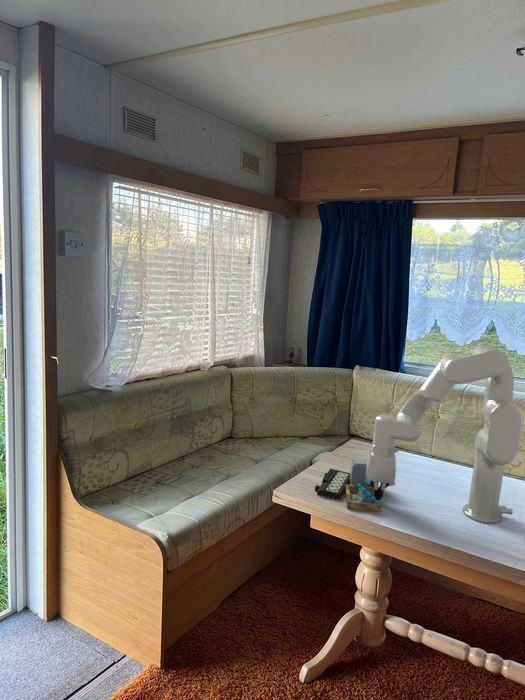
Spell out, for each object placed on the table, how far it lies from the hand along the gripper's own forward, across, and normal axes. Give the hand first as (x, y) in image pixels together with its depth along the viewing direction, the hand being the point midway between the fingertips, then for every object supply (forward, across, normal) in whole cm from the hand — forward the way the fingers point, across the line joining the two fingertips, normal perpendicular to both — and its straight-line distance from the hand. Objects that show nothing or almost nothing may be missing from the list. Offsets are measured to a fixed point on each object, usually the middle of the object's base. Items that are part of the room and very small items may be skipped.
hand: (377, 499), depth 184 cm
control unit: (+1, +4, -11) cm, 12 cm away
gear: (+2, +4, +2) cm, 5 cm away
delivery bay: (+1, +5, 0) cm, 5 cm away
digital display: (+2, +16, -10) cm, 19 cm away
